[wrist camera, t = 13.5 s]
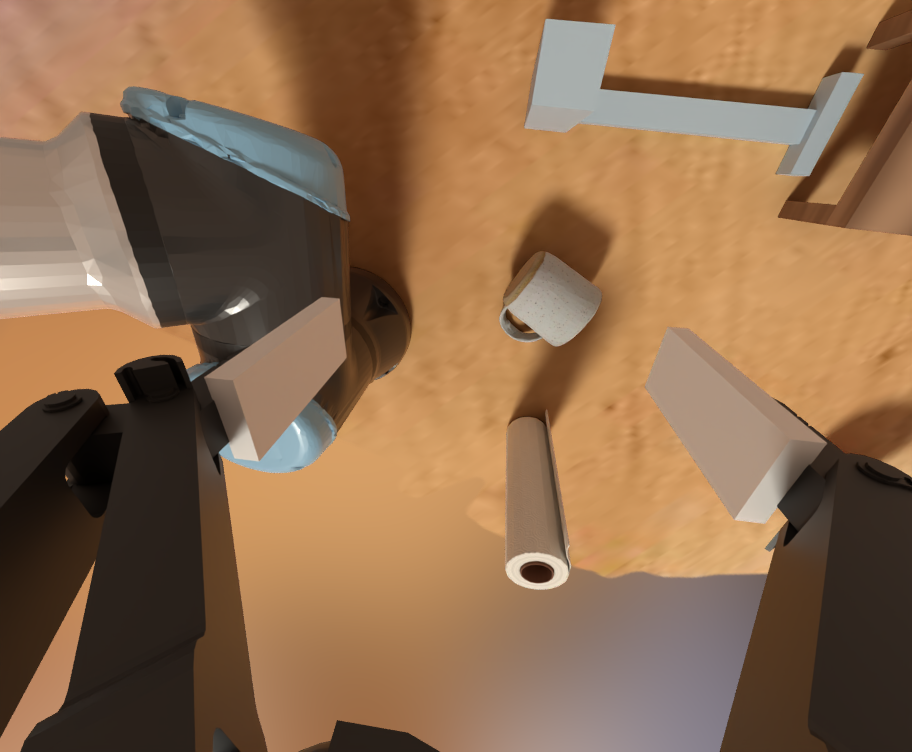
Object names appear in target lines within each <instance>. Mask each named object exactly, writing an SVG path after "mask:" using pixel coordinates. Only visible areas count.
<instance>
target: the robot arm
mask: <svg viewBox="0 0 912 752" xmlns="http://www.w3.org/2000/svg"><path fill="white" fill-rule="evenodd" d="M120 105H121V108H122V110H123V112H124V113H126V114H128V116H129V118H128V117H117V116H110V115H102V114H95V113H89V112H80V113H79V114H78V115H77V116H76V117H75V118H74V119H73V120H72V121H71V122H70V123H69V124H68V125H67V126H66V127H65V128H64V130H63V131H62V132H61V133H60V134H59V135H58V136H56V137H54V138H52V139H50V140H47V141H36V140H26V139H16V138H6V137H0V319H3V318H13V317H24V316H34V315H44V314H55V313H65V312H75V311H86V310H96V309H106V308H110V309H114V310H118V311H121V312H124V313H126V314H128V315H130V316H132V317H134V318H136V319H138V320H140V321H142V322H144V323H146V324H148V325H150V326H152V327H154V328H163V327H170V326H178V325H186V324H187V325H188V324H190V325H191V327H192V331H193V334H194V337H195V341H196V344H197V348H198V351H199V354H200V358H201V361H200V364H196V365H194V366H192V367H191V368H189V369H187V370H186V368H185V366H184V363H183V361H182V359H181V358H180V357H177V356H174V355H158V356H151V357H146V358H142V359H138V360H135V361H132V362H130V363H127V364H125V365H124V366H122V367H120V368H119V369H118V370H117V371H116V372H115V373H114V374H115V377H116V378H117V380H118V382H119V384H120V386H121V388H122V390H123V392H124V394H125V396H126V398H127V400H128V401H129V403H127V404H115V405H105V404H104V402H103V400H102V398H101V396H100V394H99V393H98V392H97V391H96V390H91V389H77V390H71V391H61V392H58V394H56V393H54V394H51V395H48V396H47V397H46V398H44V399H42V400H39V401H37V402H35V403H33V404H32V405H31V406H29V407H27V408H26V409H25V410H24V411H23V412H21V413H20V414H19V415H18V416H17V417H16V418H15V419H13V420H12V421H11V422H10V423H9V424H8V425H7V426H5V427H4V428H3V429H2V430H1V431H0V737H1V736H2V734H3V732H4V730H5V728H6V726H7V724H8V722H9V721H10V719H11V717H12V715H13V713H14V711H15V709H16V708H17V706H18V704H19V702H20V700H21V698H22V696H23V694H24V693H25V690H26V689H27V687H28V685H29V683H30V681H31V679H32V678H33V676H34V674H35V672H36V670H37V668H38V666H39V664H40V662H41V661H42V659H43V657H44V655H45V653H46V651H47V650H48V648H49V646H50V644H51V642H52V640H53V638H54V636H55V634H56V633H57V631H58V629H59V627H60V625H61V623H62V621H63V620H64V618H65V616H66V614H67V612H68V610H69V608H70V606H71V605H72V603H73V601H74V599H75V597H76V595H77V593H78V591H79V590H80V588H81V586H82V584H83V582H84V580H85V579H86V577H87V575H88V573H89V571H90V569H91V567H92V565H93V564H94V561H95V560H96V561H95V566H94V570H93V575H92V580H91V585H90V589H89V594H88V599H87V603H86V608H85V613H84V617H83V622H82V627H81V632H80V636H79V641H78V646H77V650H76V656H75V660H74V664H73V669H72V674H71V679H70V683H69V688H68V692H67V695H66V698H65V701H64V704H63V705H62V707H61V708H60V709H59V711H58V712H57V713H55V714H53V715H52V716H50V717H48V718H46V719H45V720H43V721H41V722H39V723H37V724H36V726H35V727H34V729H33V730H32V731H31V733H30V734H29V736H28V737H27V738H26V740H25V741H24V744H23V747H22V749H21V752H268V751H267V746H266V742H265V738H264V734H263V731H262V728H261V725H260V721H259V718H258V714H257V710H256V704H255V698H254V690H253V683H252V675H251V669H250V661H249V653H248V646H247V638H246V631H245V624H244V616H243V609H242V601H241V594H240V586H239V579H238V572H237V564H236V557H235V550H234V543H233V534H232V527H231V520H230V513H229V505H228V498H227V490H226V482H225V475H224V468H223V461H222V459H221V456H222V457H224V458H226V459H227V460H229V461H232V462H234V463H236V464H239V465H242V466H244V467H247V468H250V469H254V470H258V471H264V472H271V473H287V472H293V471H297V470H300V469H302V468H304V467H305V466H308V465H310V464H312V463H313V462H315V460H317V459H318V458H319V456H320V455H321V454H322V453H323V452H324V451H325V450H326V448H327V447H328V446H329V445H330V444H332V443H333V441H334V440H335V438H336V436H337V432H338V431H339V429H340V428H341V426H342V425H343V423H344V422H345V420H346V419H347V417H348V416H349V414H350V413H351V411H352V410H353V408H354V406H355V405H356V403H357V402H358V400H359V399H360V397H361V396H362V394H363V393H364V391H365V390H366V388H367V386H368V385H369V384H370V383H372V382H373V381H374V380H377V379H379V378H382V377H384V376H385V375H387V374H389V373H390V372H391V371H392V370H393V369H395V367H396V366H397V365H398V364H399V363H400V361H401V360H402V358H403V356H404V355H405V353H406V351H407V349H408V346H409V343H410V337H411V325H410V319H409V316H408V312H407V310H406V308H405V305H404V304H403V302H402V300H401V299H400V297H399V296H398V294H397V293H396V292H395V291H394V289H393V288H392V287H391V286H390V285H388V284H387V283H386V282H385V281H384V280H382V279H381V278H379V277H378V276H376V275H374V274H372V273H370V272H368V271H365V270H362V269H359V268H354V267H350V266H349V233H348V222H350V215H349V214H348V212H347V207H346V196H345V184H344V173H343V168H342V165H341V163H340V160H339V158H338V157H337V155H336V154H335V153H334V151H333V150H332V149H331V148H329V147H328V146H327V145H326V144H325V143H323V142H321V141H319V140H317V139H315V138H313V137H310V136H308V135H305V134H303V133H300V132H297V131H295V130H292V129H289V128H286V127H283V126H280V125H277V124H274V123H271V122H268V121H265V120H262V119H258V118H255V117H252V116H249V115H246V114H242V113H239V112H235V111H232V110H229V109H225V108H222V107H218V106H215V105H211V104H207V103H203V102H199V101H195V100H192V101H190V100H187V99H185V98H182V97H178V96H173V95H168V94H166V93H163V92H160V91H157V90H152V89H147V88H142V87H128V88H127V89H126V90H124V91H123V100H122V101H121V103H120ZM645 388H646V390H647V391H648V393H649V394H650V396H651V397H652V399H653V400H654V402H655V403H656V405H657V406H658V408H659V409H660V410H661V412H662V413H663V415H664V416H665V418H666V419H667V421H668V422H669V424H670V425H671V427H672V428H673V430H674V431H675V433H676V434H677V436H678V437H679V439H680V440H681V442H682V443H683V445H684V446H685V448H686V449H687V451H688V452H689V454H690V455H691V457H692V458H693V460H694V461H695V463H696V464H697V465H698V467H699V468H700V470H701V471H702V473H703V474H704V476H705V477H706V479H707V480H708V482H709V483H710V485H711V486H712V488H713V489H714V491H715V492H716V494H717V495H718V497H719V498H720V500H721V501H722V503H723V504H724V506H725V507H726V509H727V510H728V512H729V513H730V515H731V516H732V518H733V519H734V520H739V521H748V522H756V523H764V524H765V523H766V521H767V520H768V519H769V518H770V516H771V515H772V514H773V512H774V511H775V510H776V509H777V507H778V508H779V509H780V511H781V512H782V513H783V514H784V515H785V517H786V518H787V519H788V521H787V522H786V523H785V524H784V526H783V527H782V528H781V529H780V531H779V532H778V533H777V534H776V535H775V537H774V538H773V539H772V540H771V541H770V543H769V544H768V545H767V546H766V548H765V549H766V550H768V551H771V550H772V549H773V548H775V550H774V553H773V557H772V561H771V564H770V568H769V572H768V575H767V579H766V583H765V587H764V590H763V594H762V598H761V601H760V605H759V609H758V612H757V616H756V620H755V623H754V627H753V631H752V635H751V639H750V642H749V645H748V649H747V653H746V657H745V660H744V664H743V668H742V671H741V675H740V679H739V682H738V686H737V690H736V693H735V697H734V701H733V705H732V708H731V712H730V715H729V720H728V723H727V727H726V730H725V734H724V738H723V741H722V745H721V749H720V752H912V478H911V477H910V476H909V475H907V474H905V473H904V472H902V471H900V470H899V469H897V468H895V467H893V466H891V465H889V464H886V463H884V462H882V461H880V460H877V459H873V458H870V457H867V456H864V455H858V454H852V453H850V454H845V453H844V452H842V451H841V450H840V449H839V448H838V447H836V446H835V445H834V444H833V443H831V442H830V441H829V440H828V439H827V438H825V437H824V436H823V435H822V434H820V433H819V432H818V431H817V430H815V429H814V428H813V427H812V426H808V423H807V422H806V421H804V420H803V419H802V418H801V417H797V414H796V413H795V412H793V411H792V410H791V409H790V408H788V407H787V406H786V405H785V404H783V403H782V402H780V401H778V400H776V399H774V398H772V397H771V396H769V395H768V394H767V393H766V392H765V391H763V390H762V389H761V388H760V387H759V386H757V385H756V384H755V383H754V382H753V381H751V380H750V379H749V378H748V377H746V376H745V375H744V374H743V373H742V372H740V371H739V370H738V369H737V368H736V367H734V366H733V365H732V364H731V363H730V362H728V361H727V360H726V359H725V358H723V357H722V356H721V355H720V354H719V353H717V352H716V351H715V350H714V349H713V348H711V347H710V346H709V345H708V344H707V343H705V342H704V341H703V340H702V339H700V338H699V337H698V336H697V335H696V334H694V333H693V332H692V331H691V330H690V329H688V328H677V327H667V330H666V333H665V335H664V338H663V340H662V343H661V346H660V348H659V351H658V353H657V356H656V359H655V361H654V364H653V366H652V369H651V372H650V374H649V377H648V379H647V382H646V385H645ZM65 475H66V476H67V478H68V480H67V481H66V479H65ZM299 752H439V751H438V750H436V749H434V748H433V747H431V746H429V745H428V744H426V743H424V742H423V741H420V740H419V739H417V738H416V737H414V736H412V735H411V734H409V733H406V732H400V731H395V730H388V729H384V728H378V727H372V726H366V725H361V724H355V723H350V722H344V721H338V720H337V722H336V726H335V729H334V732H333V736H332V739H331V741H328V742H323V743H319V744H317V745H314V746H311V747H309V748H306V749H303V750H301V751H299Z"/></svg>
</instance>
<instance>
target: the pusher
mask: <svg viewBox="0 0 912 752" xmlns="http://www.w3.org/2000/svg"><path fill="white" fill-rule="evenodd" d="M614 29H615V25H614V24H602V23H590V22H578V21H566V20H554V19H546V20H545V24H544V29H543V33H542V37H541V41H540V46H539V50H538V54H537V58H536V62H535V67H534V71H533V75H532V82H531V88H530V94H529V100H528V106H527V113H526V119H525V125H524V128H527V129H537V130H547V131H556V132H567V131H568V130H570V129H571V128H573V127H574V126H575V125H577V124H578V123H580V124H590V125H600V126H610V127H619V128H629V129H639V130H649V131H659V132H668V133H678V134H688V135H698V136H707V137H717V138H727V139H737V140H746V141H756V142H766V143H776V144H785V145H790V146H789V148H788V150H787V152H786V154H785V156H784V158H783V160H782V162H781V164H780V166H779V168H778V170H777V172H776V174H779V175H788V176H810V174H811V172H812V170H813V168H814V166H815V164H816V163H817V161H818V159H819V157H820V155H821V153H822V151H823V149H824V148H825V146H826V144H827V142H828V140H829V138H830V136H831V135H832V133H833V131H834V129H835V127H836V125H837V123H838V122H839V120H840V118H841V116H842V114H843V112H844V110H845V108H846V107H847V105H848V103H849V101H850V99H851V97H852V95H853V94H854V92H855V90H856V88H857V86H858V84H859V82H860V81H861V79H862V77H863V75H864V74H860V73H849V72H841V73H837V74H834V75H831V76H828V77H825V78H823V79H822V81H821V83H820V85H819V87H818V89H817V91H816V93H815V95H814V97H813V99H812V101H811V103H810V105H809V107H808V109H802V108H792V107H781V106H771V105H760V104H750V103H739V102H729V101H719V100H708V99H698V98H687V97H677V96H666V95H656V94H646V93H635V92H625V91H614V90H604V89H600V87H601V83H602V79H603V75H604V70H605V66H606V62H607V58H608V54H609V50H610V46H611V41H612V37H613V33H614Z"/></svg>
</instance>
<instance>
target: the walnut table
mask: <svg viewBox="0 0 912 752" xmlns="http://www.w3.org/2000/svg"><path fill="white" fill-rule="evenodd" d="M909 42H912V10H910V11H907V12H905V13H902V14H900V15H897V16H895V17H893V18H890V19H888V20H885V21H883V22H880V23H879V25H878V27H877V29H876V31H875V32H874V34H873V36H872V38H871V40H870V42H869V44H868V46H867V49H879V50H888V49H891V48H894V47H897V46H900V45H903V44H906V43H909ZM778 217H779V218H785V219H791V220H798V221H804V222H810V223H817V224H823V225H829V226H836V227H842V228H849V229H858V230H867V231H875V232H884V233H892V234H901V235H910V236H912V79H911V81H910V83H909V84H908V86H907V88H906V90H905V91H904V93H903V95H902V96H901V98H900V100H899V101H898V103H897V105H896V106H895V108H894V110H893V111H892V113H891V115H890V116H889V118H888V120H887V121H886V123H885V125H884V127H883V128H882V130H881V132H880V133H879V135H878V137H877V138H876V140H875V142H874V143H873V145H872V147H871V148H870V150H869V152H868V153H867V155H866V157H865V158H864V160H863V162H862V164H861V165H860V167H859V169H858V170H857V172H856V174H855V175H854V177H853V179H852V180H851V182H850V184H849V185H848V187H847V189H846V190H845V192H844V194H843V196H842V197H841V199H840V201H839V202H838V204H837V205H830V204H819V203H808V202H798V201H787V200H786V202H785V204H784V206H783V208H782V210H781V212H780V214H779V216H778Z"/></svg>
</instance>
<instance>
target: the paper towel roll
mask: <svg viewBox="0 0 912 752" xmlns="http://www.w3.org/2000/svg"><path fill="white" fill-rule="evenodd" d="M545 417H546V424H547V427H546V426H545V425H544V423H543V422H542V421H540V420H538V419H536V418H533V417H521V418H518V419H516V420H514V421H512V423H511V424H510V425H509V426H508V429H507V433H506V523H505V570H506V573H507V575H508V577H509V578H510V579H511V580H512V581H513V582H514V583H516V584H518V585H521V586H523V587H526V588H531V589H551V588H554V587H558V586H559V585H561V584H563V583H564V582H565V581H566V580H567V578H568V575H569V572H570V568H571V562H570V556H569V550H568V547H569V539H568V533H567V526H566V520H565V514H564V508H563V502H562V496H561V490H560V484H559V478H558V472H557V466H556V459H555V453H554V447H553V441H552V435H551V429H550V423H549V417H548V411H547V409H546V412H545Z"/></svg>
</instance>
